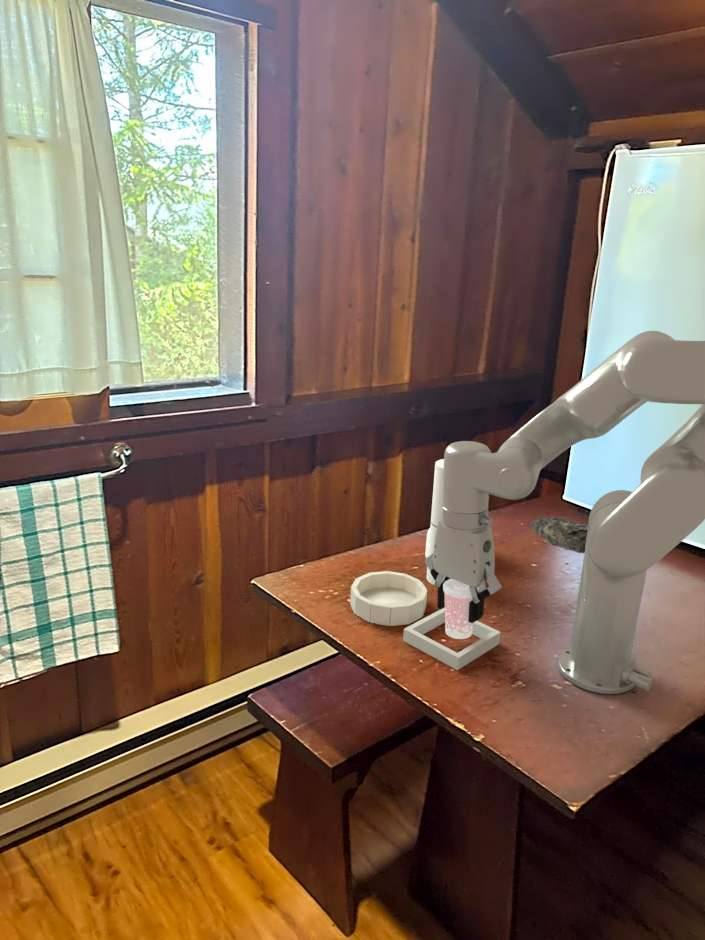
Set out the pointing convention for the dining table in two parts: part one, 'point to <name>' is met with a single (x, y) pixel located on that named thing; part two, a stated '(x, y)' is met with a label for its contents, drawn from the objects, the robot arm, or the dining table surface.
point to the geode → (562, 532)
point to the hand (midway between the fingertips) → (459, 612)
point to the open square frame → (442, 653)
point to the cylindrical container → (436, 509)
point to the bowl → (388, 598)
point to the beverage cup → (457, 609)
